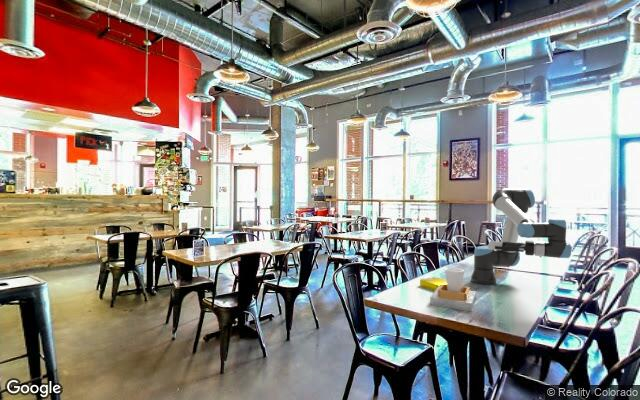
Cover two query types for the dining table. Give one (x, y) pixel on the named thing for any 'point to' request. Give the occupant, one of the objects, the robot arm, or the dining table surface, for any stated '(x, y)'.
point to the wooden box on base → (453, 298)
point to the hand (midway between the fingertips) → (488, 245)
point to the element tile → (432, 283)
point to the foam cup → (454, 279)
